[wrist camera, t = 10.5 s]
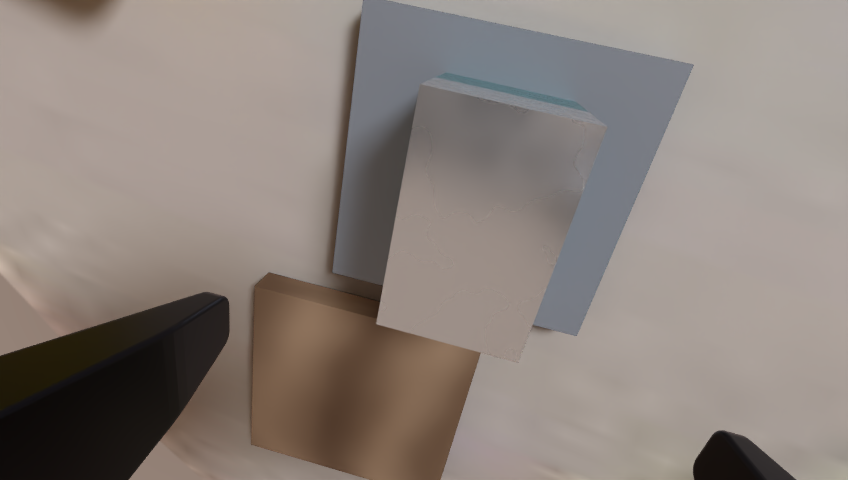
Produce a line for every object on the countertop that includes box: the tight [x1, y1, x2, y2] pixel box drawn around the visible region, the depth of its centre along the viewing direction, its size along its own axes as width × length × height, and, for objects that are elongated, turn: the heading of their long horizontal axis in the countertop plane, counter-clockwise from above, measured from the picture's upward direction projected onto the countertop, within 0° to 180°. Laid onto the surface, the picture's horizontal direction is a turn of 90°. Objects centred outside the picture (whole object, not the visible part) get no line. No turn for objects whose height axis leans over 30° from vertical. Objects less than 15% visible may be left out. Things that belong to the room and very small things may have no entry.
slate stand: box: [332, 0, 694, 336], centre depth 19 cm, size 12×12×2 cm
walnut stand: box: [251, 273, 480, 480], centre depth 25 cm, size 12×12×2 cm
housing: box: [376, 72, 607, 363], centre depth 16 cm, size 8×5×6 cm, turn 169°
